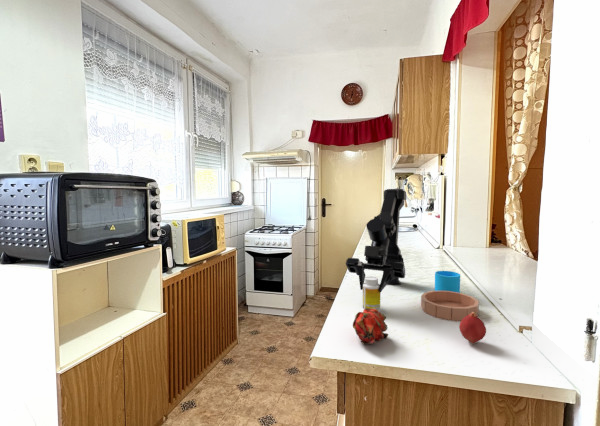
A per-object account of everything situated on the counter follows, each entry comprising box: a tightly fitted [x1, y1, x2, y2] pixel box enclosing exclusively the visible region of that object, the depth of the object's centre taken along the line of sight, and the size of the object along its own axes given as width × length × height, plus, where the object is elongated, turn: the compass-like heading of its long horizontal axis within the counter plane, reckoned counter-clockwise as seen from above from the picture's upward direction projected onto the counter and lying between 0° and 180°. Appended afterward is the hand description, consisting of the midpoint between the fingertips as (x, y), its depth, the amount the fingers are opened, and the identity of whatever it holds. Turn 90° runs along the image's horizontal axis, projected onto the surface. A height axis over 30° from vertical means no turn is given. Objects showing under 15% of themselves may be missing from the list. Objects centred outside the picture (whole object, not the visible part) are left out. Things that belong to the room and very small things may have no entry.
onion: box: [459, 312, 487, 345], centre depth 79 cm, size 6×6×8 cm
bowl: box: [420, 290, 480, 322], centre depth 100 cm, size 16×16×4 cm
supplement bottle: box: [362, 276, 381, 312], centre depth 102 cm, size 6×6×10 cm
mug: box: [434, 270, 461, 293], centre depth 115 cm, size 12×8×8 cm
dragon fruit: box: [352, 308, 389, 346], centre depth 82 cm, size 8×8×12 cm
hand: (370, 290), depth 101 cm, fingers closed on supplement bottle, 6 cm apart
